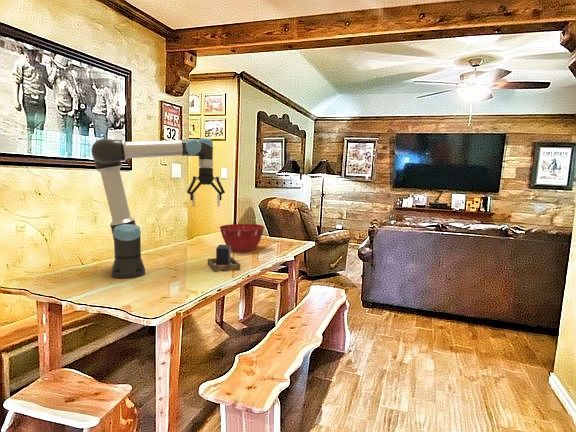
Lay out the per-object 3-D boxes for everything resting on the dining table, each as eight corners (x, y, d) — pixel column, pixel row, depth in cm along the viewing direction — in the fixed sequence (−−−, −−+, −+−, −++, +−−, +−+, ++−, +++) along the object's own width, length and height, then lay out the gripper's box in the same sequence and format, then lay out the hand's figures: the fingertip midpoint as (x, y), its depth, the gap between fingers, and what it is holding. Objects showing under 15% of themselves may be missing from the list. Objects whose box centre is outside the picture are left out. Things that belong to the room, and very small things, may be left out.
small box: (228, 268, 195) (228, 248, 194) (215, 268, 195) (215, 248, 193) (231, 263, 205) (231, 244, 204) (218, 263, 205) (218, 244, 204)
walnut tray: (213, 272, 189) (213, 266, 189) (207, 264, 205) (207, 258, 205) (240, 270, 194) (240, 264, 194) (232, 262, 210) (232, 257, 210)
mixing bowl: (242, 256, 226) (242, 231, 224) (210, 250, 243) (210, 226, 241) (272, 249, 248) (273, 226, 247) (241, 244, 265) (241, 222, 263)
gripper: (227, 168, 215) (227, 205, 217) (181, 167, 206) (181, 206, 208) (230, 167, 208) (230, 206, 210) (183, 166, 199) (183, 207, 201)
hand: (206, 206), depth 209 cm, fingers open, 13 cm apart
